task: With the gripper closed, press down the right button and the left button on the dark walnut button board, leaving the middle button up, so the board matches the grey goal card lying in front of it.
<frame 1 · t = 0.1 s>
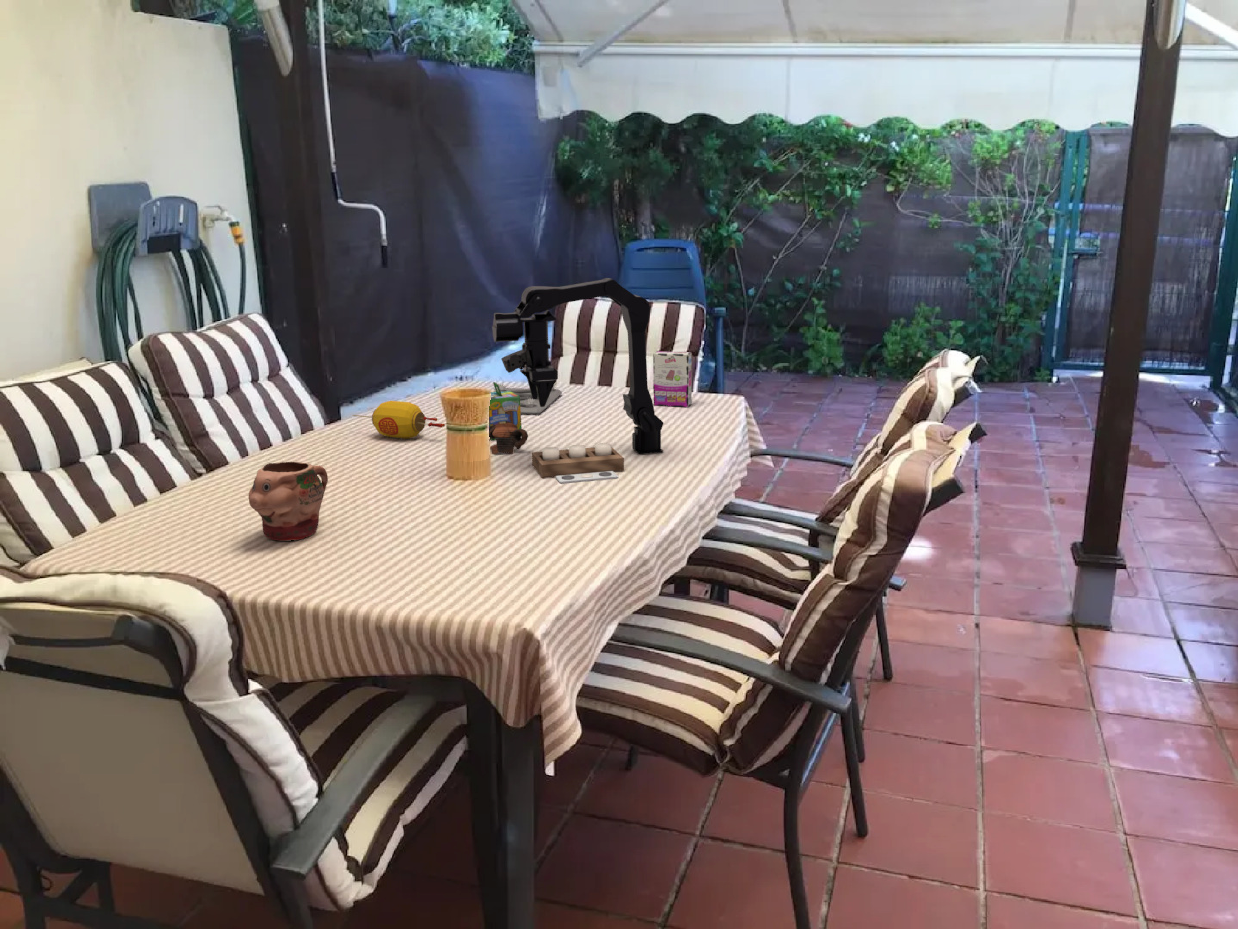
hand: (538, 402, 251), 15 cm above the table, tool pointing down, fingers open, 9 cm apart
button middle: (577, 453, 246), point 4 cm above the table, slide at 0.0 cm
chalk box: (501, 436, 279), on the table
lantern: (399, 437, 279), on the table
button 1: (550, 455, 245), point 4 cm above the table, slide at 0.0 cm
pink animal face cup: (296, 532, 204), on the table
button 2: (603, 451, 248), point 4 cm above the table, slide at 0.0 cm
decorative plate: (518, 406, 319), on the table
button board: (577, 467, 247), on the table
candy bar box: (672, 405, 315), on the table
pottery mug: (508, 451, 264), on the table
goal card: (586, 477, 239), on the table
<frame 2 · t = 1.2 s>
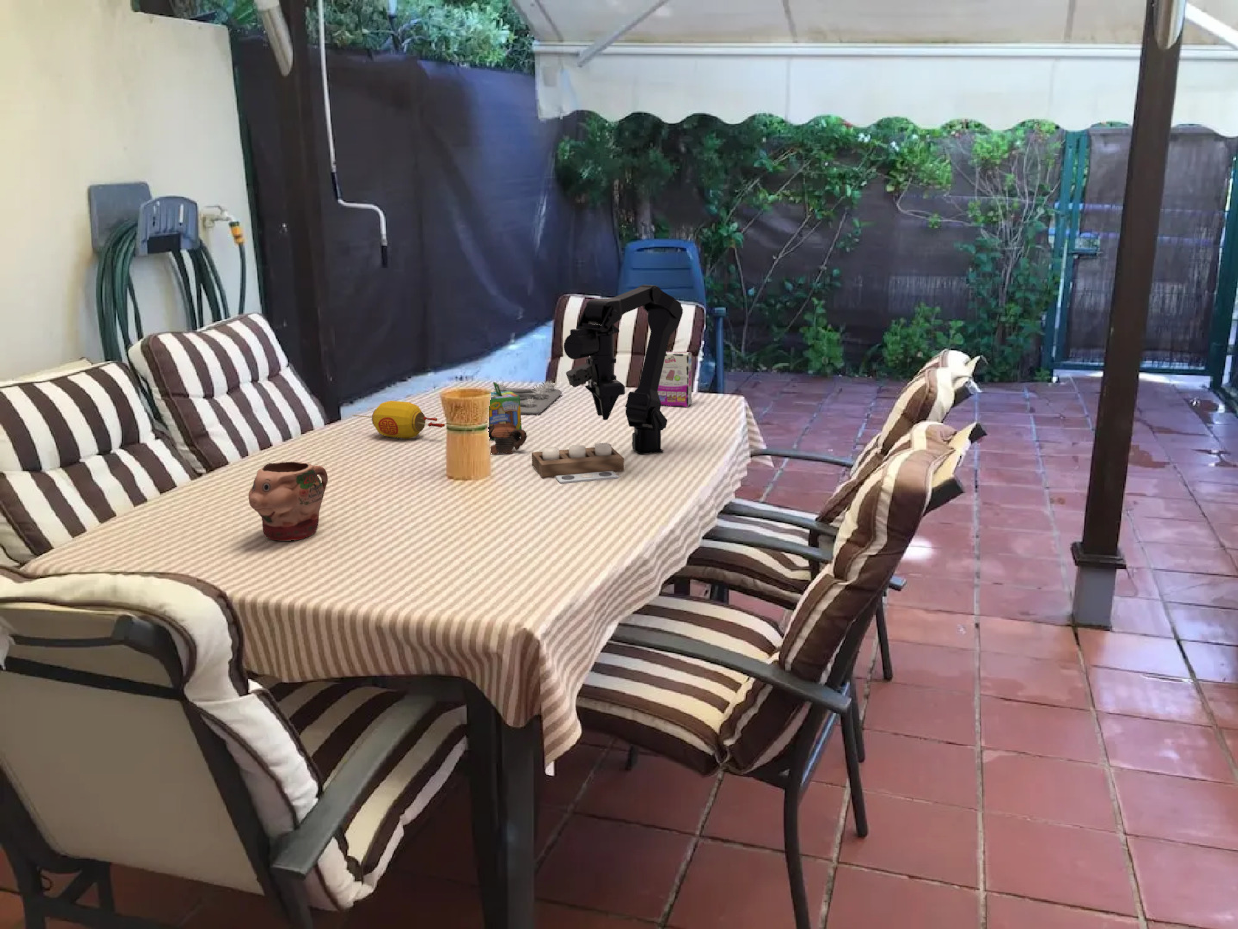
hand: (602, 417, 246), 12 cm above the table, tool pointing down, fingers open, 5 cm apart
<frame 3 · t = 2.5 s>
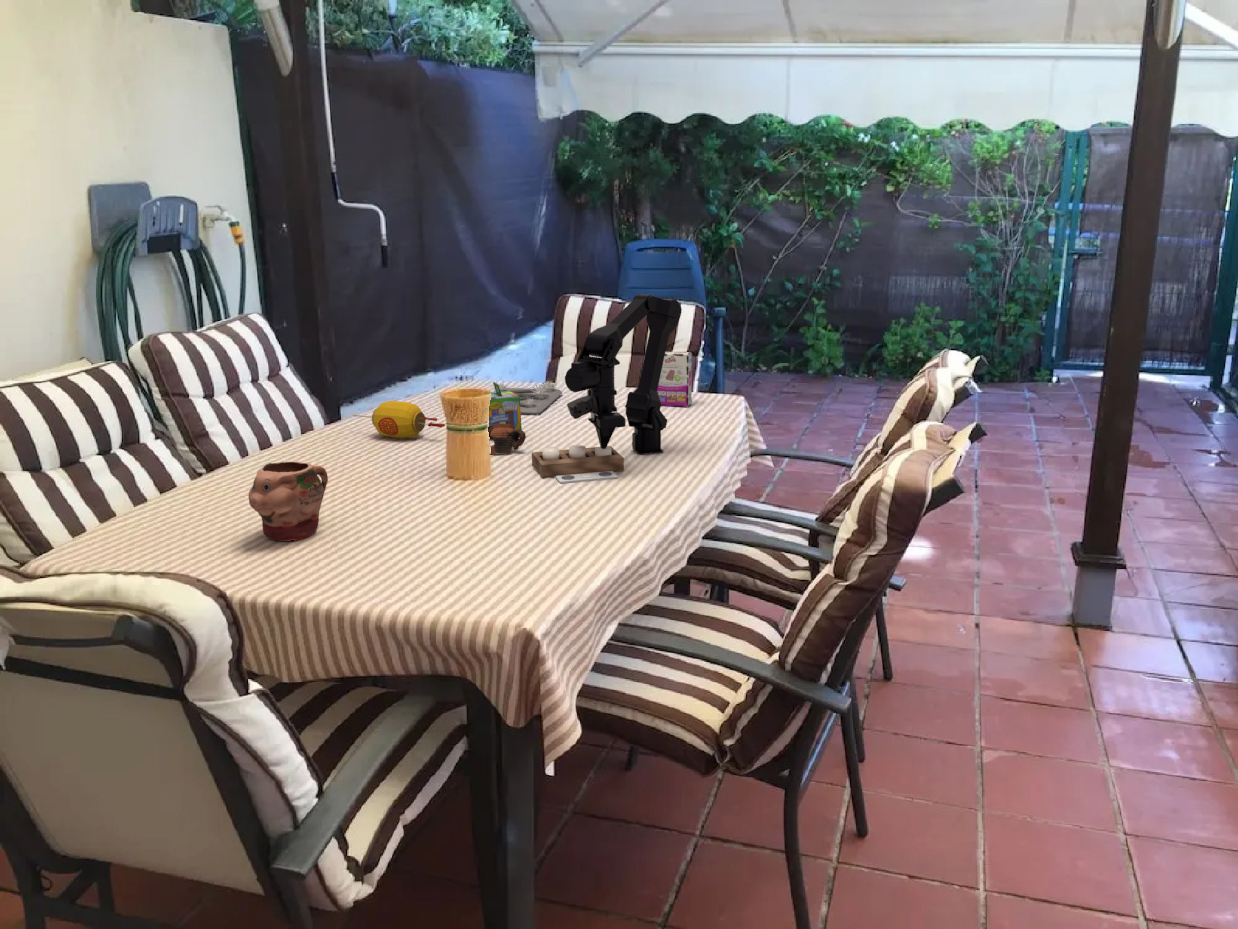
hand: (603, 448, 248), 4 cm above the table, tool pointing down, fingers closed, pressing on button 2
button 2: (603, 454, 248), point 3 cm above the table, slide at 0.9 cm, touching gripper
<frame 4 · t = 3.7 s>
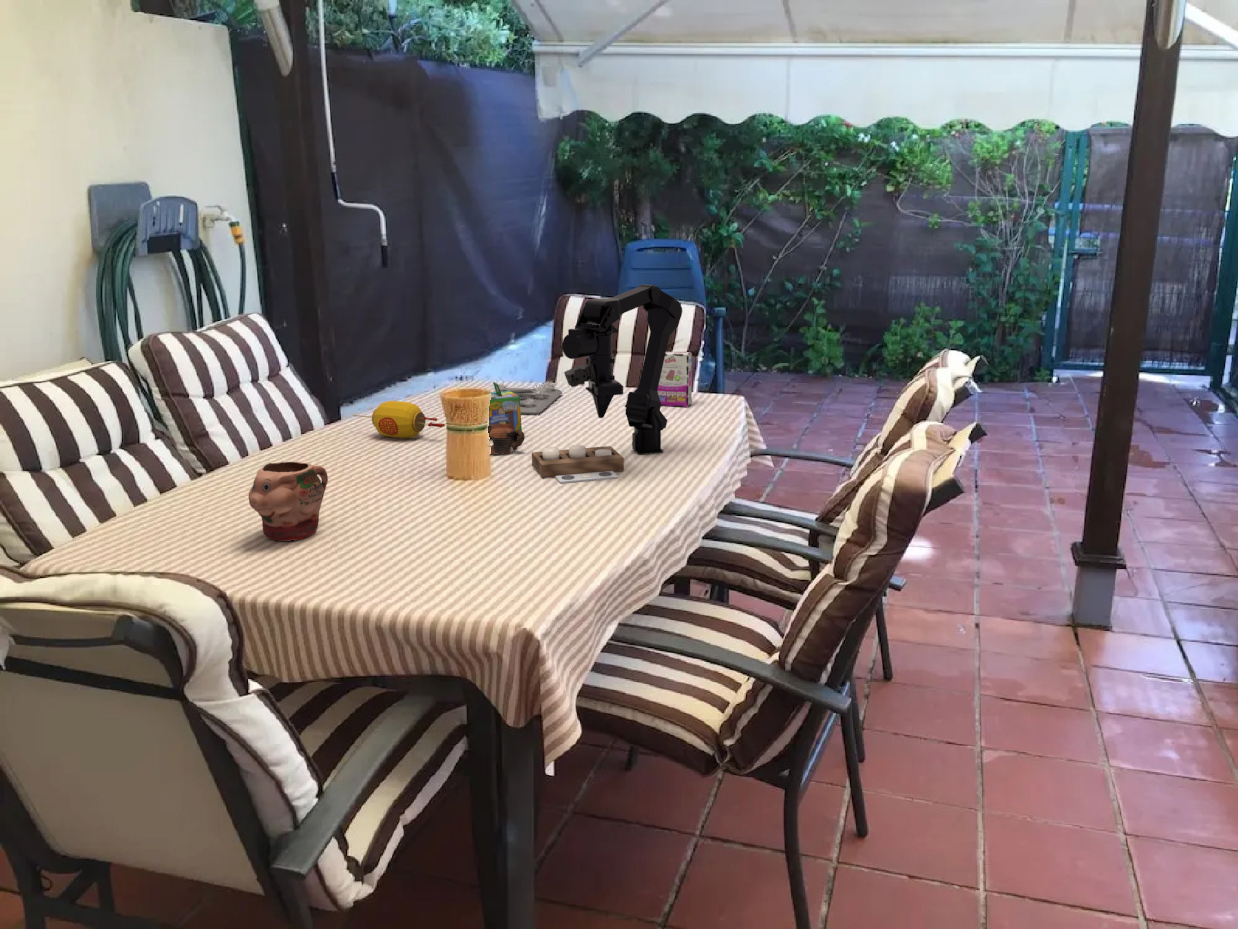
hand: (600, 417, 246), 12 cm above the table, tool pointing down, fingers closed
button 2: (603, 457, 249), point 2 cm above the table, slide at 1.6 cm
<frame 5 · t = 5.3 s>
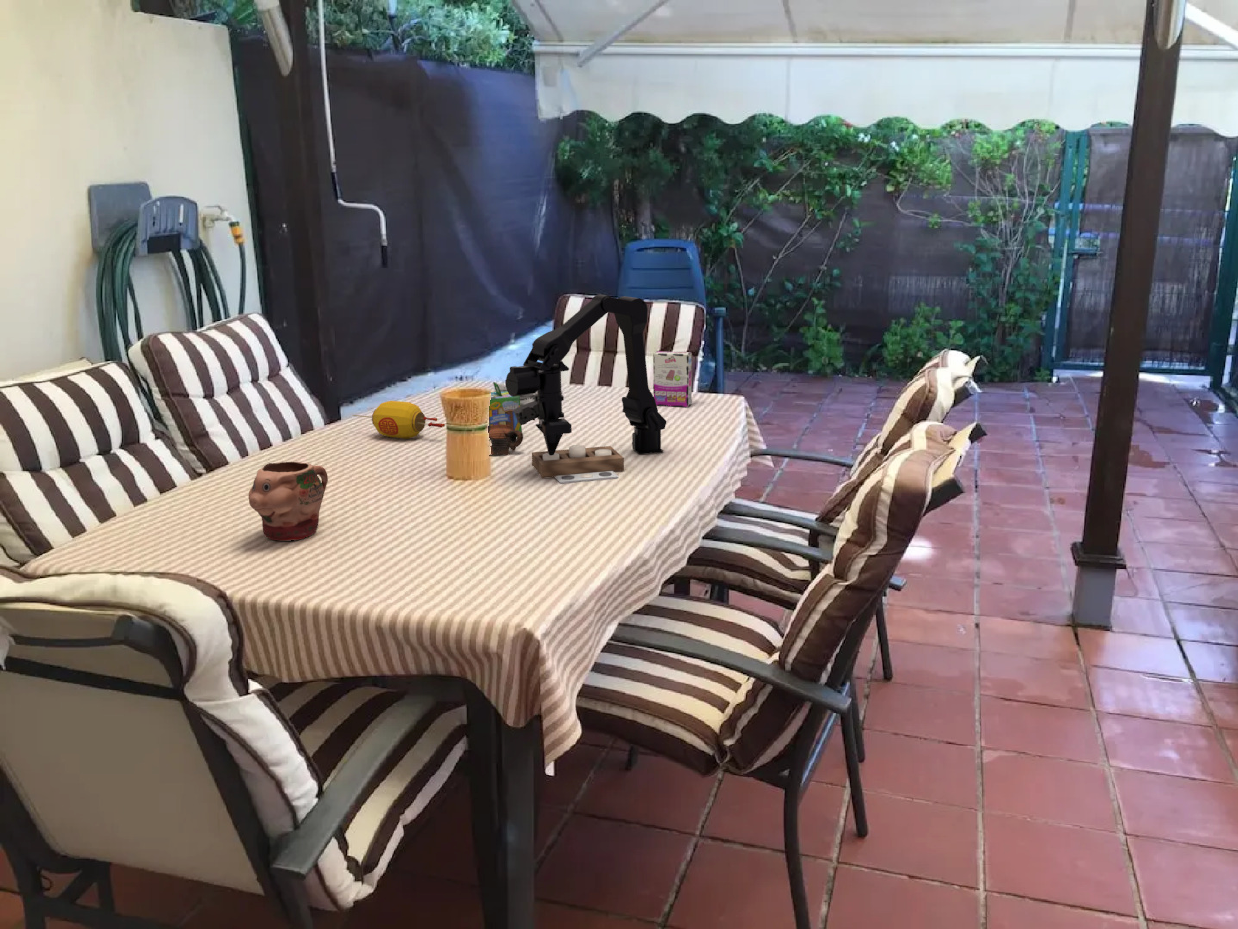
hand: (551, 454, 245), 4 cm above the table, tool pointing down, fingers closed, pressing on button 1
button 1: (551, 460, 245), point 2 cm above the table, slide at 1.4 cm, touching gripper
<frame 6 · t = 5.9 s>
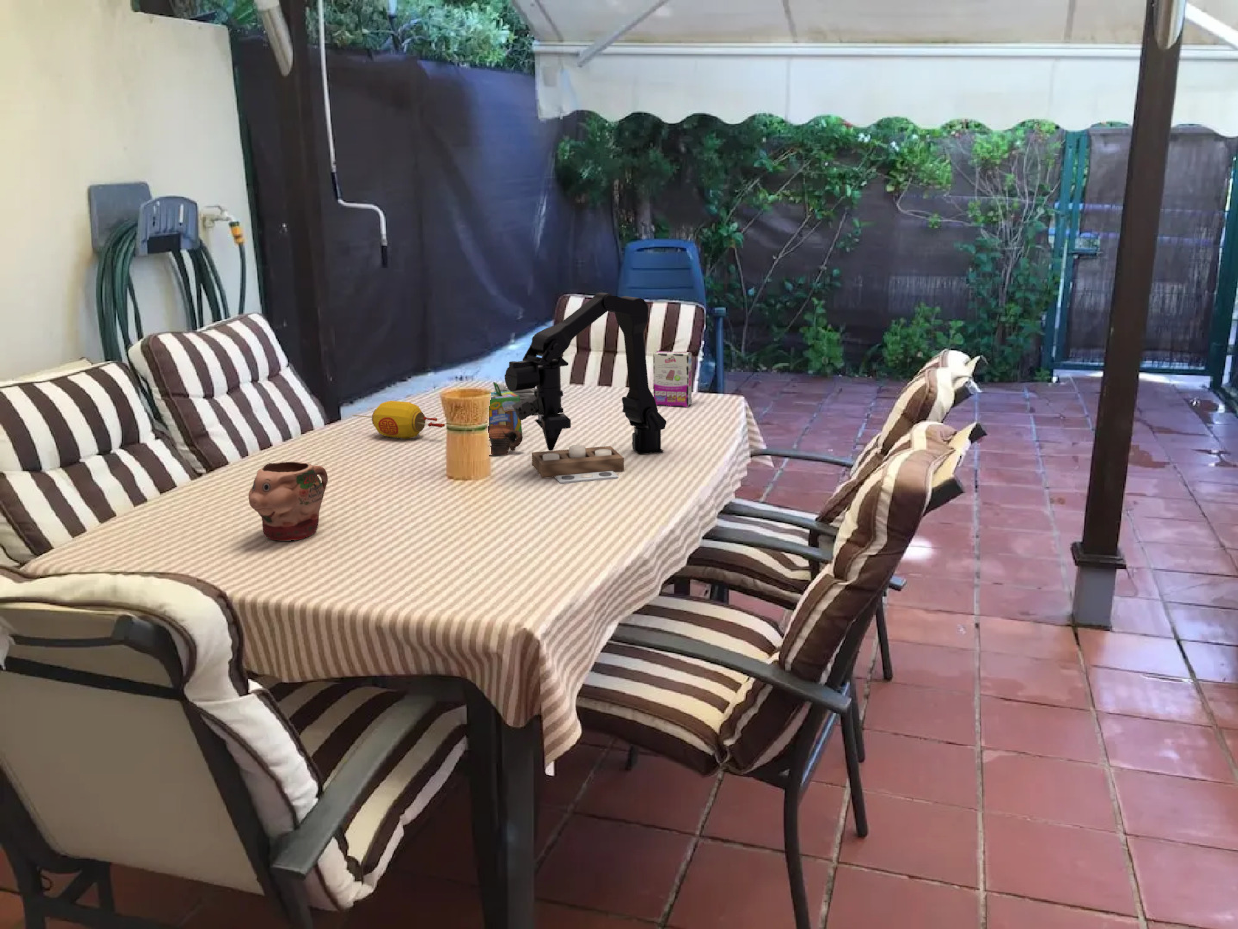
hand: (550, 450, 244), 5 cm above the table, tool pointing down, fingers closed
button 1: (551, 461, 245), point 2 cm above the table, slide at 1.5 cm
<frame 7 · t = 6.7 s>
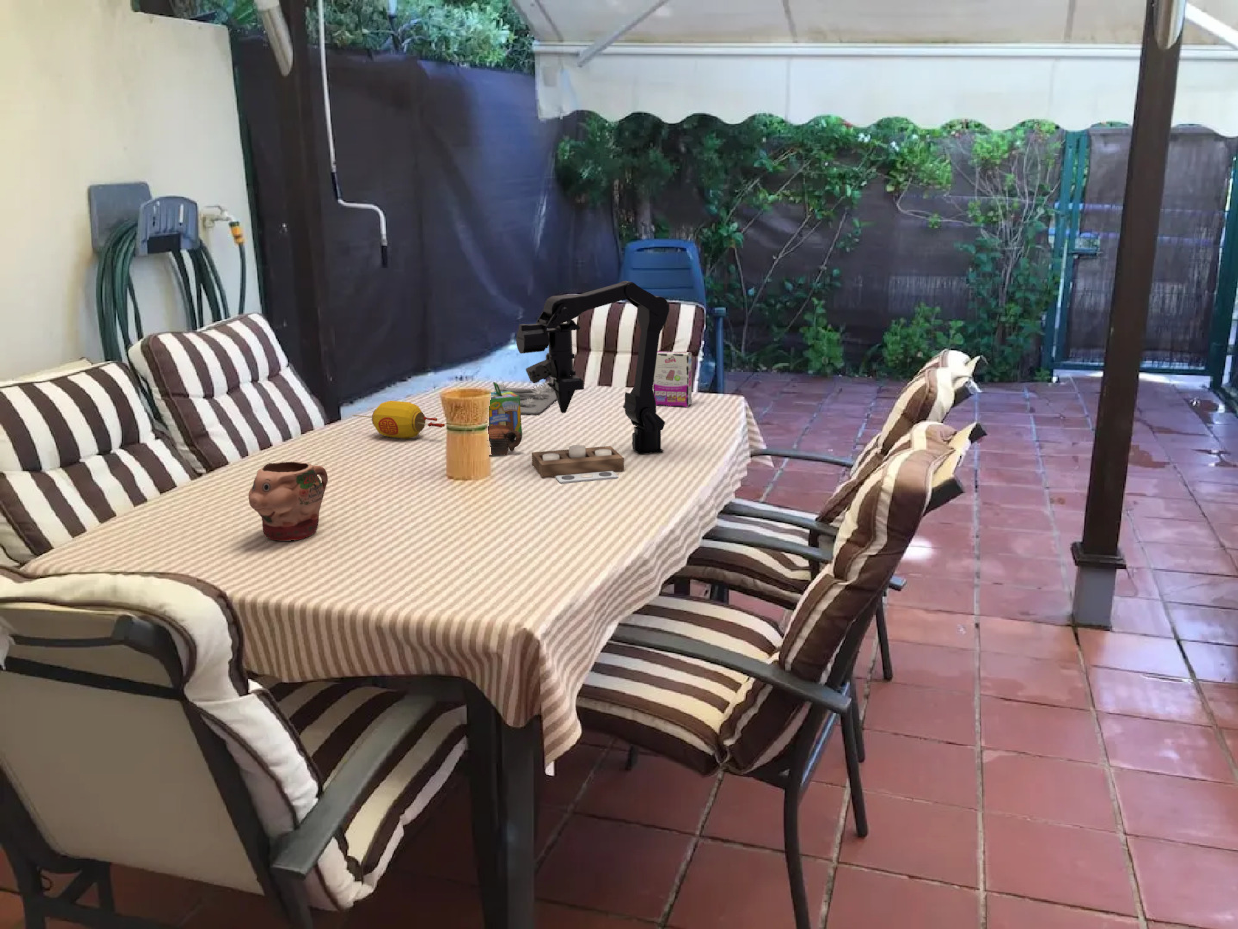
hand: (563, 412, 250), 12 cm above the table, tool pointing down, fingers closed
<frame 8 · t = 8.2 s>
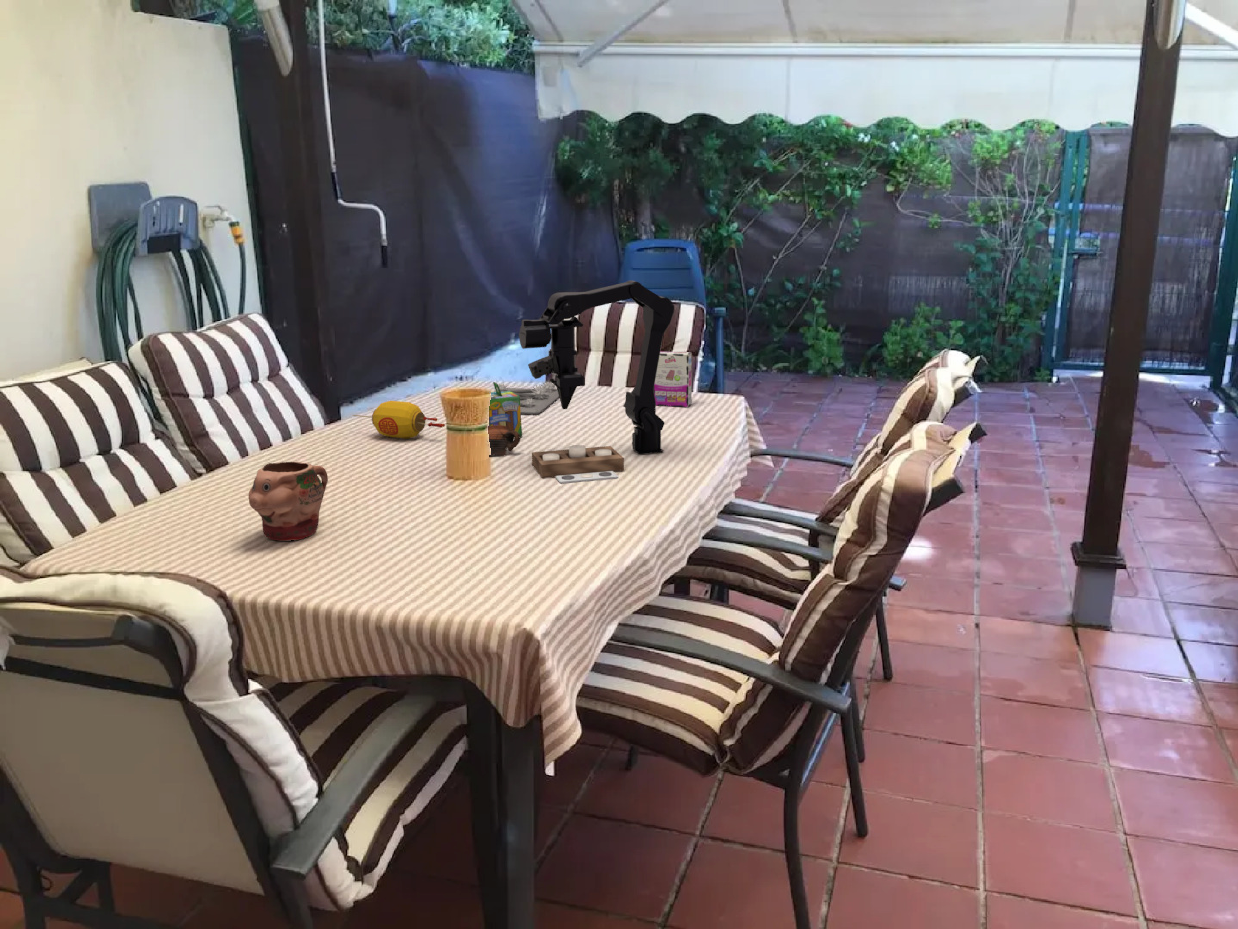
hand: (564, 408, 251), 13 cm above the table, tool pointing down, fingers closed
at the end: button 2 slide at 1.6 cm; button 1 slide at 1.5 cm; button middle slide at 0.0 cm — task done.
